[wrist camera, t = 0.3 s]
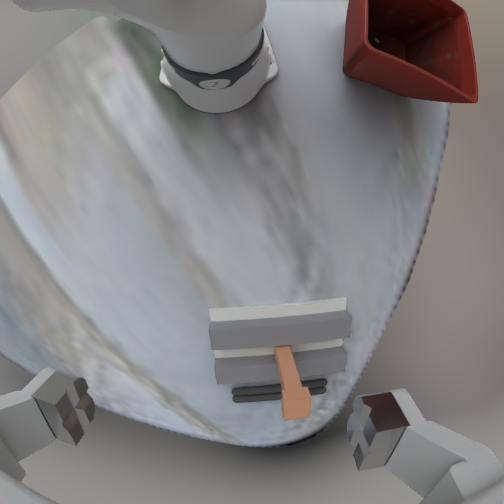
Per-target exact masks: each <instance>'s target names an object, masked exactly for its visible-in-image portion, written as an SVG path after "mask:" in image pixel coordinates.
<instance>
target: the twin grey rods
mask: <svg viewBox="0 0 504 504" xmlns="http://www.w3.org/2000/svg"><path fill="white" fill-rule="evenodd" d="M301 384H302V387H308V389H309V392H310V395H317V394H323V393H325V392H326V388H325V387H323V386H325V385H326V384H327V380H326V379H319V380H313V381H305V382H301ZM232 394H233V395H236V396H234V397H233V401H234V402H235V403H241V402H256V401H268V400H279V399H282V387H281V384H280V385H270V386H258V387H243V388H233V389H232Z"/></svg>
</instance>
